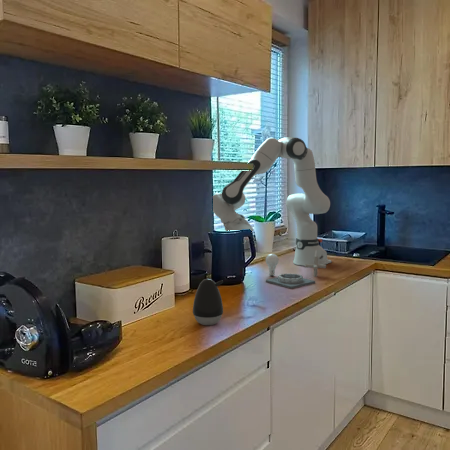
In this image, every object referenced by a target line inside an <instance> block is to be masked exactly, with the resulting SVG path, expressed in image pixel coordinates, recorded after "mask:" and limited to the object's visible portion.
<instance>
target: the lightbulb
mask: <svg viewBox="0 0 450 450" xmlns="http://www.w3.org/2000/svg"><path fill="white" fill-rule="evenodd" d="M265 263H266V266H267V267H268V270H269V272H268V273H269V274H268V275H269V276H271V277H273V276H275V270H276V267H277V266H278V264H279V257H278V255H277V254H275V253H270V254H267V255H266V257H265Z"/></svg>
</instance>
